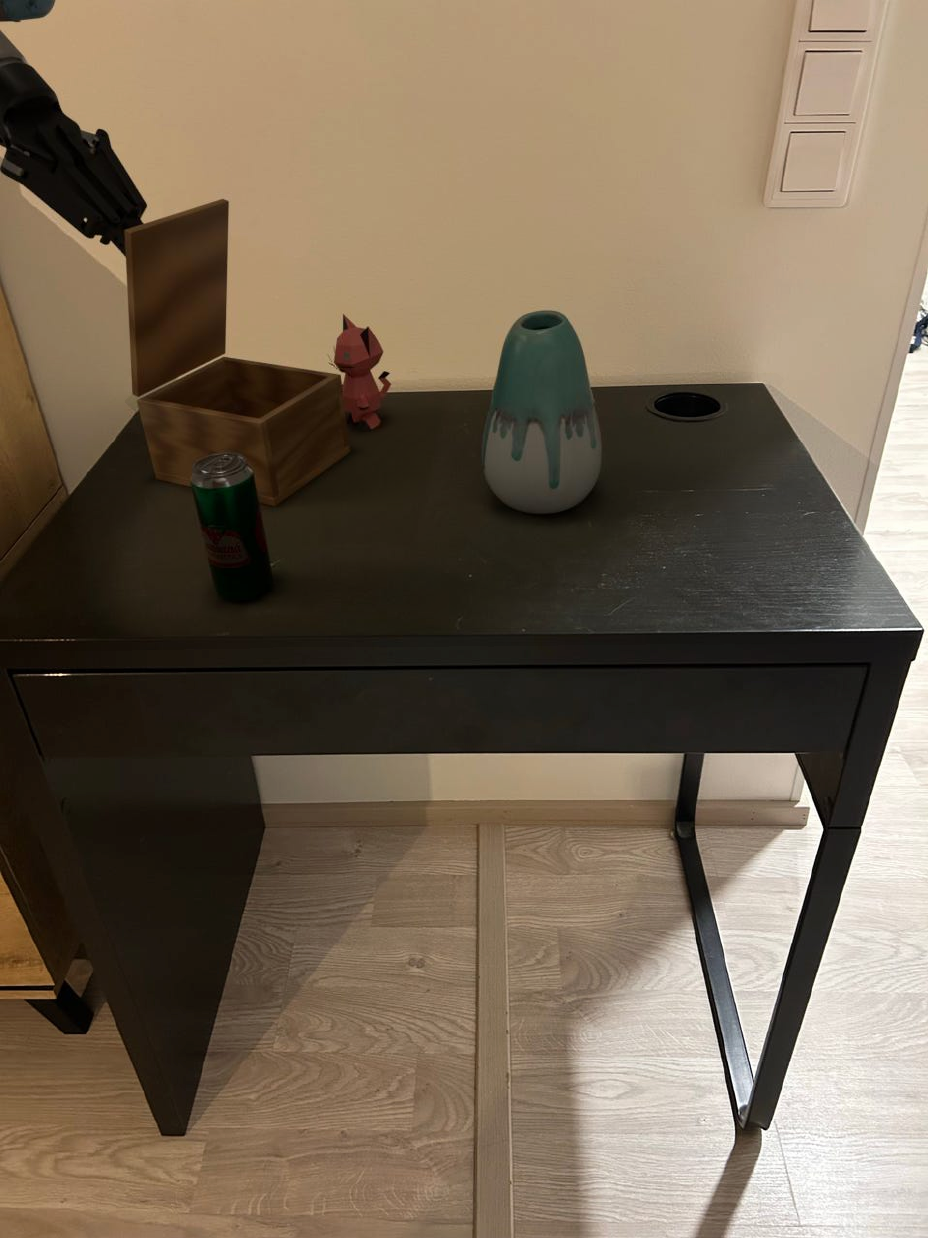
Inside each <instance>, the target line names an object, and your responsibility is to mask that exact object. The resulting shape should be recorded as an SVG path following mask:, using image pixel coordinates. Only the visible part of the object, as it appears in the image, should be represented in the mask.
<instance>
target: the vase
mask: <svg viewBox="0 0 928 1238" xmlns="http://www.w3.org/2000/svg"><path fill="white" fill-rule="evenodd" d="M597 409H598V408H597V404H596V400H595V398H594V394H593V391H592V387H591V383H590V377H589V372H588V367H587V363H586V358H585V353H584V349H583V346H582V342H581V340H580V337H579V335H578V333H577V331H576V329H575V328H574V326H573V324H572V322H571V321H570V320H569V318H567V316H566V315H565V314H564V313H561V312H560V311H557V310H550V309H545V310H543V309H542V310H535V311H532V312H528V313H524V314H523V315H521V316H520V317H519V318H517V319H516V320H515V321H514V322H513V324H512V325H511V326H510V329H509V330H508V332H507V334H506V336H505V338H504V341H503V344H502V348H501V352H500V357H499V361H498V366H497V371H496V377H495V381H494V385H493V388H492V391H491V397H490V405H489V408H488V411H487V416H486V419H485V425H484V429H483V435H482V442H481V464H482V470H483V474H484V475H483V476H484V478H485V481H486V483H487V486H488V487H489V488H490V490H491V491H492V493H493V494H494V496H495V497H496V498H497V499H498V500H499V501H501V502H502V503H503V504H504V505H506V506H507V507H509V508H511V509H513V510H516V511H519V512H520V513H521V512H522V513H526V514H533V515H551V514H557V513H560V512H564V511H567V510H569V509H572V508H574V507H575V506H578V505H579V504H580V503H582V501H584V500H585V499H586V498H587V497H588V496H589V494H591V492H592V490H593V489H594V487H595V485H596V484H597V482H598V480H599V477H600V474H601V471H602V465H603V441H602V431H601V426H600V420H599V415H598V410H597Z"/></svg>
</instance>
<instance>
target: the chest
mask: <svg viewBox="0 0 928 1238" xmlns="http://www.w3.org/2000/svg"><path fill="white" fill-rule="evenodd" d="M342 384H343V381H342V375H341V374H339V373H333V372H332V373H331V372H326V371H319V370H314V369H306V368H300V367H294V366H287V365H281V364H274V363H268V362H262V361H261V362H260V361H254V360H248V359H242V358H235V357H229V356H221V357H220V358H218V359H216V360H213V361H212V362H210V363H208V364H205V365H203V366H201V367H200V368H197V369H196V370H194V371H192V372H189V373H187V374H185V375H183V376H181V377H180V378H178V379H176V380H174V381H171V382H170V383H167V384H165V385H163V386H162V387H159V388H158V389H157V390H156V389H155V390H153V391H152V392H151V393H150V392H149V393H148V394H146V395H143V397H142V396H141V397H140V398H139V399H136V404H137V407H138V411H139V416H140V420H141V423H142V427H143V431H144V435H145V439H146V443H147V447H148V452H149V455H150V459H151V463H152V467H153V471H154V476H155V479H156V480H158V481H162V482H167V483H170V484H176V485H180V486H185V487H188V488H191V483H190V478H191V476H192V473H193V471H192V466H193V464H194V463H195V462H196V461H197V460H199V459H200V458H203V457H205V456H208V455H211V454H216V453H226V452H227V453H237V454H240V455H243V456H244V457H245V458H246V460H247V464H248V465H249V466H250V467H251V468H252V469H253V472H254V477H255V483H256V488H257V493H258V499H259V504H263V505H268V506H273V507H276V506H278V505H279V504H280V503H282V502H283V501H285V500H286V499H288V498H289V497H290V496H291V495H293V494H294V493H296V492H297V491H299V490H300V489H301V488H302V487H304V486H305V485H307V484H308V483H309V482H311V481H312V480H314V479H315V478H316V477H318V476H320V475H321V474H322V473H324V472H325V471H326V470H327V469H329V468H330V467H332V466H333V465H334V464H336V463H338V461H340V460H341V459H343V458H345V457H346V456H347V455H348V454H350V453H351V447H350V441H349V439H350V438H349V432H348V431H349V430H348V422H346V416H347V415H346V414H347V413H346V410H345V406H344V397H343V389H342Z"/></svg>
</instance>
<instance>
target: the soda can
mask: <svg viewBox="0 0 928 1238" xmlns="http://www.w3.org/2000/svg"><path fill="white" fill-rule="evenodd" d="M192 471H193V473H192V476H191V478H190V483H191V487H190V488H191V492H192V496H193V500H194V506H195V509H196V514H197V519H198V522H199V528H200V531H201V537H202V540H203V544H204V548H205V549H204V550H205V554H206V558H207V562H208V567H209V571H210V575H211V579H212V580H211V581H212V584H213V589H214V592H215V593H216V594H217V595H218V596H219V597H220V598H222V599H224V600H226V601H229V602H231V603H232V602H233V603H247V602H251V601H254V600H256V599H259V598H262V597H263V596H264V595H265V594H266V593H267V592H268V591H269V590H270V588H271V587H272V585H273V584H274V576H273V570H272V564H271V558H270V553H269V548H268V542H267V538H266V537H267V536H266V532H265V527H264V520H263V516H262V510H261V505H260V504H261V503H259V499H258V493H257V488H256V483H255V477H254V472H253V469H252V468H251V467H250V466H249V465H248V464H247V460H246V458H245V457H244V456H243V455H240V454H237V453H227V452H226V453H216V454H211V455H208V456H205V457H203V458H200V459H199V460H197V461H196V462H195V463H194V464H193V466H192Z"/></svg>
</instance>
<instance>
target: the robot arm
mask: <svg viewBox="0 0 928 1238" xmlns="http://www.w3.org/2000/svg"><path fill="white" fill-rule="evenodd" d="M55 3H56V0H0V23H6V22H13V23H21V21H28V20H37V19H38V20H39V19H43V18H45V17H46V16H48V15H49V14H50V13H51V12H52V10H53V8H54V7H55ZM0 147H2V148H5V152H4V154H3V155H4V156H3V157H2V161H1V164H0V172H1V174H3V175H4V176H5V177H8V178H9V179H11V180H13V181H15V182H16V183H18V184H20V185H22V186H23V187H24V188H26V189H27V190H28V191H30V192H31V193H32V194H33V195H34V196H36V197H37V198H38V199H39V200H40V201H41V202H43V203H44V204H46V205H47V206H48V207H49V208H50V209H51V210H53V212H55V213H56V214H57V215H59V216H60V217H61V218H62V219H63V220H64V221H65V222H67V223H68V224H70V225H71V227H73V228H74V229H75V230H77V231H78V232H79V233H80V234H81V235H83V237H85V238H87V239H88V240H89V239H90V240H92V239H93V240H94V238H95V237H96V236H97V237H99V236H100V239H99V243H100V244H102V245H104V246H108V245H110V243H112V244H113V245H114V246H115V247H116V248H117V250H119V251H120V253H121V254H122V255H123V256H124V257H125V258H126V251H125V231H124V230H126V229H129V228H132V227H136V226H139V225H142V224H145V223H144V222H143V221H142V217H143V216H144V214H145V212H146V210H147V208H148V203H147V201H146V200H145V198H144V197H143V195H142V193H141V192H140V190H139V189H138V188H137V187H138V186H137V185H136V184H135V183H134V181H133V179H132V178H131V175H129V173H128V172H127V170H126V168H125V167H124V165H123V164H122V162H121V160H120V159H119V157H118V155H117V154H116V152H115V150H114V149H113V147H112V144H111V139H110V135H109V133H108V132H107V131H106V130H105V129H103V128H97V129H96V131H95V133H93V132H89V131H86V130H83V129H82V128H81V127H80V125H79V124H78V122H76V121H75V120H74V119H72V118H71V117H69V116H68V115H67V114H66V113H64V112H63V110H62V107H61V105H60V101H59V98H58V95H57V93H56V92H55V91H54V89H53V88H52V87H51V86H50V85H49V84H48V82H46V80H45V79H44V78H43V76H42V75H40V74H39V73H38V71H37V70H36V69H35V68H34V67H33V66H32V65H30V64H29V62H28V60H27V59H26V57H25V56H24V54H22V52H21V51H20V50H19V48H18V47H16V45H15V44H14V43H13V42H12V41H11V40H10V39H9V38H8V37H7V36H6V35H5V33H4V32H3V31H2V30H1V29H0ZM85 219H86V220H85Z"/></svg>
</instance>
